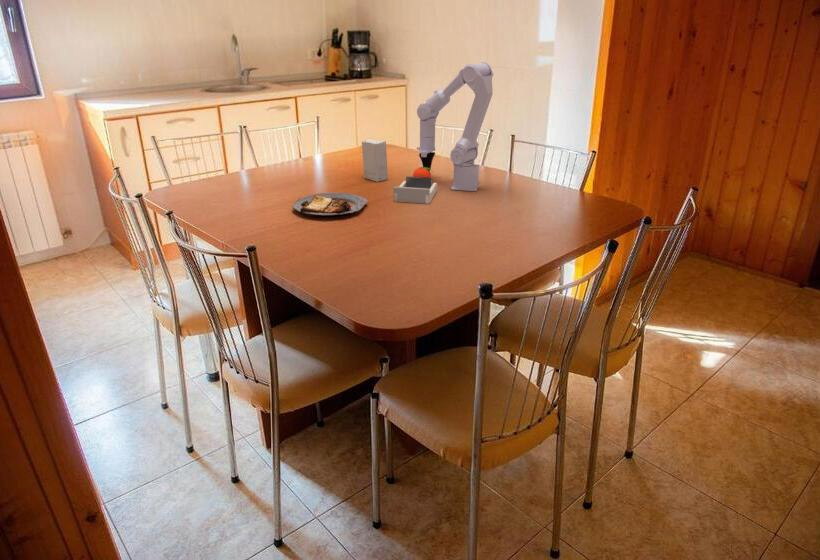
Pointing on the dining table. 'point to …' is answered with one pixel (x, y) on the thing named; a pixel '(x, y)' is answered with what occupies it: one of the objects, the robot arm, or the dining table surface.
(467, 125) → the robot arm
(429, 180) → the block
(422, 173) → the clementine
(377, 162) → the skincare box
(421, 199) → the grey open tray
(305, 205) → the food plate
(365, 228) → the dining table surface
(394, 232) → the dining table surface
